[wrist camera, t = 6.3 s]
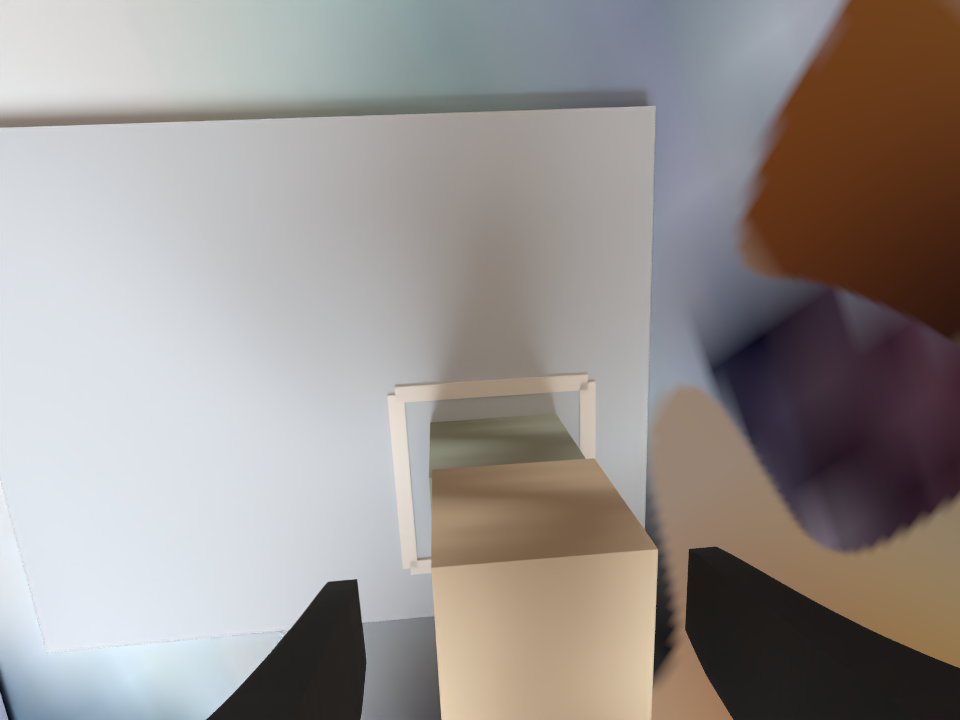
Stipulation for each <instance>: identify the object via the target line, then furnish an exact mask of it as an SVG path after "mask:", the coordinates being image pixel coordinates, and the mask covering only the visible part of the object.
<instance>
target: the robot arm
mask: <svg viewBox="0 0 960 720" xmlns="http://www.w3.org/2000/svg"><path fill="white" fill-rule="evenodd" d="M685 630H686V632H687V635H688V637H689V639H690V641H691V644H692V646H693V648H694V650H695V652H696V655H697V657H698V659H699V661H700V663H701V665H702V667H703V669H704V671H705V673H706V675H707V677H708V679H709V680H710V682H711V684H712V685H713V687H714V689H715V690H716V692H717V694H718V695H719V697H720V699H721V700H722V702H723V703H724V705H725V707H726V708H727V710H728V712H729V713H730V715H731V716H732V718H733V719H734V720H960V668H958V667H955V666H953V665H950V664H947V663H945V662H942V661H940V660H937V659H935V658H932V657H930V656H928V655H925V654H923V653H921V652H918V651H916V650H913V649H911V648H909V647H907V646H905V645H902V644H900V643H898V642H895V641H893V640H891V639H889V638H886V637H884V636H882V635H880V634H878V633H876V632H873V631H871V630H869V629H867V628H865V627H863V626H861V625H859V624H857V623H855V622H853V621H851V620H849V619H847V618H845V617H843V616H841V615H839V614H837V613H835V612H833V611H831V610H830V609H828V608H826V607H824V606H822V605H820V604H818V603H817V602H815V601H813V600H811V599H809V598H807V597H806V596H804V595H802V594H800V593H798V592H797V591H795V590H793V589H791V588H789V587H788V586H786V585H784V584H782V583H781V582H779V581H777V580H775V579H774V578H772V577H770V576H768V575H767V574H765V573H763V572H762V571H760V570H758V569H756V568H755V567H753V566H751V565H749V564H748V563H746V562H744V561H742V560H741V559H739V558H737V557H735V556H733V555H732V554H730V553H728V552H725V551H724V550H722V549H720V548H718V547H707V548H696V549H689V561H688V583H687V604H686V625H685ZM365 672H366V653H365V644H364V636H363V627H362V618H361V609H360V600H359V591H358V582H357V579H352V580H341V581H330V582H327V583H326V584H325V585H324V587H323V588H322V589H321V590H320V592H319V593H318V594H317V595H316V597H315V598H314V599H313V601H312V602H311V603H310V605H309V606H308V607H307V608H306V610H305V611H304V612H303V614H302V615H301V616H300V617H299V619H298V620H297V621H296V623H295V624H294V625H293V626H292V628H291V629H290V630H289V631H288V632H287V634H286V635H285V636H284V637H283V638H282V640H281V641H280V642H279V643H278V644H277V646H276V647H275V648H274V649H273V650H272V652H271V653H270V654H269V655H268V656H267V657H266V659H265V660H264V661H263V662H262V663H261V664H260V665H259V666H258V667H257V668H256V670H255V671H254V672H253V673H252V674H251V675H250V676H249V677H248V678H247V679H246V680H245V682H244V683H243V684H242V685H241V686H240V687H239V688H238V689H237V690H236V691H235V692H234V693H233V694H232V695H231V696H230V697H229V698H228V699H227V700H226V701H225V702H224V703H223V704H222V705H221V706H220V707H219V708H218V709H217V710H216V711H215V712H214V713H213V714H212V715H211V716H210V717H209V718H207V719H206V720H360V718H361V713H362V704H363V694H364V683H365ZM0 720H8V717H7V714H6V710H5V707H4V704H3V700H2V697H1V694H0Z"/></svg>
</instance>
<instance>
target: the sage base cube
mask: <svg viewBox="0 0 960 720" xmlns="http://www.w3.org/2000/svg"><path fill="white" fill-rule="evenodd" d="M576 459H586V458H585V457H584V455H583V454H582V452H581V451H580V449H579V448H578V446H577V445H576V443H575V442H574V440H573V439H572V437H571V435H570V434H569V432H568V431H567V429H566V428H565V426H564V425H563V423H562V422H561V420H560V419H559V417H558V416H557V414H544V415H530V416H515V417H501V418H487V419H473V420H459V421H445V422H431V423H430V452H429V487H430V500H431V514H432V470H433V469H448V468H462V467H476V466H490V465H505V464H519V463H533V462H547V461H562V460H576Z"/></svg>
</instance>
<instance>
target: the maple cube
mask: <svg viewBox="0 0 960 720" xmlns="http://www.w3.org/2000/svg"><path fill="white" fill-rule="evenodd" d="M657 566H658V548H657V547H656V545H655V544H654V542H653V541H652V540H651V538H650V537H649V535H648V534H647V533H646V531H645V530H644V528H643V527H642V525H641V524H640V523H639V521H638V520H637V518H636V517H635V515H634V514H633V513H632V511H631V510H630V508H629V507H628V505H627V504H626V503H625V501H624V500H623V498H622V497H621V496H620V494H619V493H618V491H617V490H616V488H615V487H614V486H613V484H612V483H611V481H610V480H609V478H608V477H607V476H606V474H605V473H604V471H603V470H602V468H601V467H600V466H599V464H598V463H597V461H596V460H595V459H594V458H590V459H576V460H562V461H547V462H533V463H519V464H505V465H490V466H476V467H462V468H448V469H433V470H432V536H431V573H432V588H433V602H434V617H435V632H436V647H437V662H438V676H439V691H440V706H441V720H651V715H652V690H653V665H654V640H655V616H656V591H657Z"/></svg>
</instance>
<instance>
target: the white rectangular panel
mask: <svg viewBox="0 0 960 720" xmlns="http://www.w3.org/2000/svg"><path fill="white" fill-rule="evenodd" d="M655 116H656V106H636V107H606V108H576V109H546V110H516V111H486V112H456V113H427V114H397V115H367V116H337V117H307V118H277V119H247V120H217V121H187V122H157V123H127V124H98V125H68V126H38V127H8V128H0V481H1V485H2V489H3V493H4V496H5V500H6V504H7V507H8V511H9V515H10V518H11V522H12V526H13V530H14V533H15V537H16V541H17V544H18V548H19V552H20V555H21V559H22V563H23V566H24V570H25V574H26V578H27V581H28V585H29V589H30V592H31V596H32V600H33V603H34V607H35V611H36V615H37V618H38V622H39V626H40V629H41V633H42V637H43V640H44V644H45V648H46V651H47V653H54V652H64V651H75V650H85V649H96V648H106V647H117V646H127V645H138V644H148V643H159V642H169V641H180V640H191V639H201V638H212V637H222V636H233V635H243V634H254V633H264V632H275V631H285V630H290V629H291V628H292V626H293V625H294V624H295V623H296V621H297V620H298V619H299V617H300V616H301V615H302V614H303V612H304V611H305V610H306V608H307V607H308V606H309V605H310V603H311V602H312V601H313V599H314V598H315V597H316V595H317V594H318V593H319V592H320V590H321V589H322V588H323V587H324V585H325V584H326V583H327V582H330V581H341V580H352V579H357V582H358V591H359V600H360V609H361V618H362V623H370V622H380V621H391V620H401V619H412V618H422V617H433V616H434V602H433V588H432V573H431V536H432V514H431V500H430V487H429V452H430V423H431V422H445V421H459V420H473V419H487V418H501V417H515V416H530V415H544V414H557V416H558V417H559V419H560V420H561V422H562V423H563V425H564V426H565V428H566V429H567V431H568V432H569V434H570V435H571V437H572V439H573V440H574V442H575V443H576V445H577V446H578V448H579V449H580V451H581V452H582V454H583V455H584V457H585V458H586V459H590V458H594V459H595V460H596V461H597V463H598V464H599V466H600V467H601V468H602V470H603V471H604V473H605V474H606V476H607V477H608V478H609V480H610V481H611V483H612V484H613V486H614V487H615V488H616V490H617V491H618V493H619V494H620V496H621V497H622V498H623V500H624V501H625V503H626V504H627V505H628V507H629V508H630V510H631V511H632V513H633V514H634V515H635V517H636V518H637V520H638V521H639V523H640V524H641V525H642V527H643V528H644V530H645V504H646V466H647V427H648V388H649V349H650V310H651V271H652V232H653V194H654V155H655Z"/></svg>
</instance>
